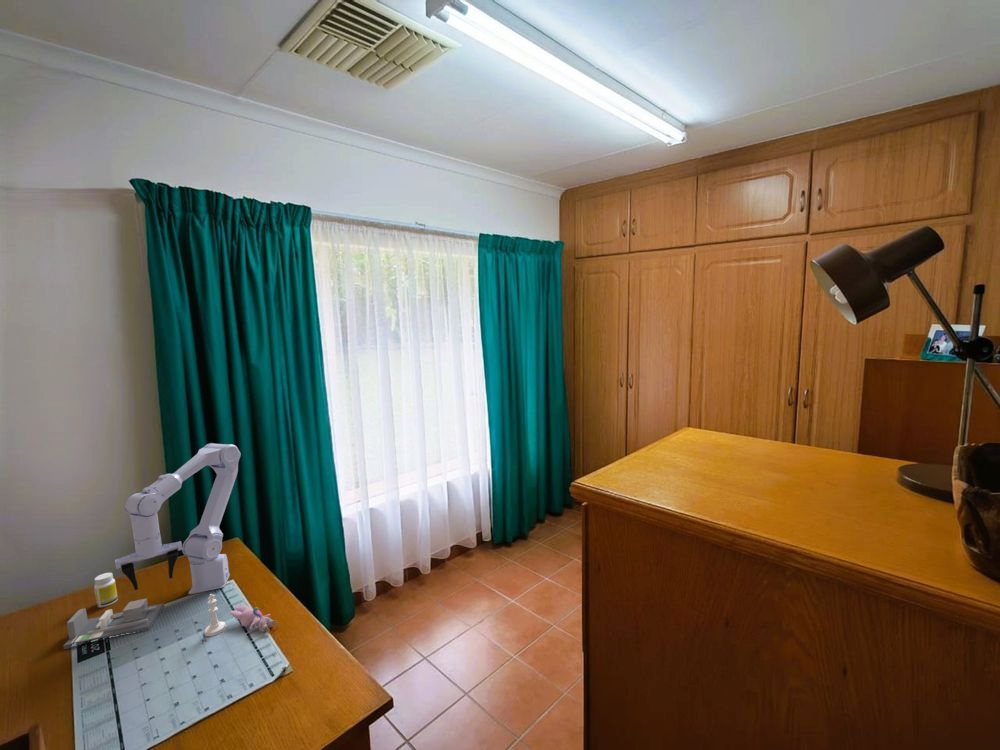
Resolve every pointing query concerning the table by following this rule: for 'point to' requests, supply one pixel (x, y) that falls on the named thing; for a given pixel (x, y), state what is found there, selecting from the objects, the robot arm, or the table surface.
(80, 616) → the gauge base
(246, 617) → the pink toy animal
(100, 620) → the white narrow bar
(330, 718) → the table surface
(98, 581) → the supplement bottle
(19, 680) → the table surface
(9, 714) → the table surface
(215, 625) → the chess piece
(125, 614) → the stepped grey block
